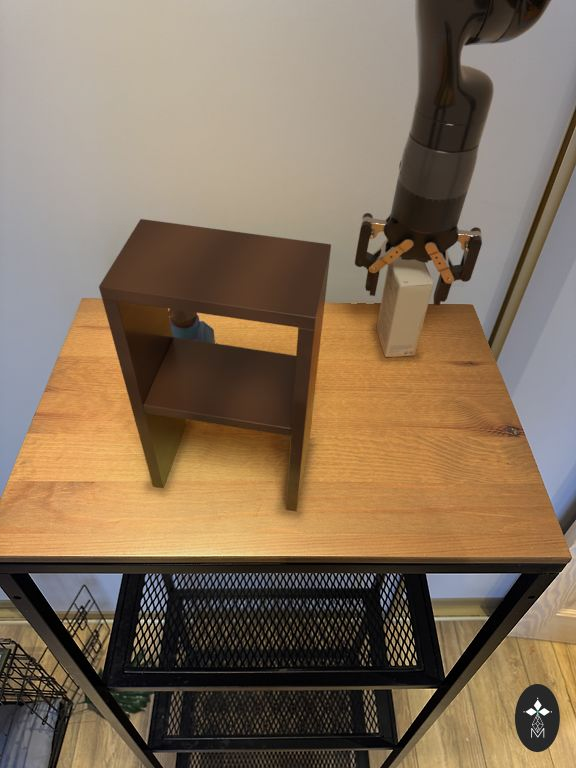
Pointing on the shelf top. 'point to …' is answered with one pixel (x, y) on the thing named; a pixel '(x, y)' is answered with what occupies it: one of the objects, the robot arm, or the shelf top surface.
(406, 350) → the cosmetic box
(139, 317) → the walnut shelf
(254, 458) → the shelf top surface
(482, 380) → the shelf top surface
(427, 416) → the shelf top surface
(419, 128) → the robot arm
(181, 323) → the perfume bottle
